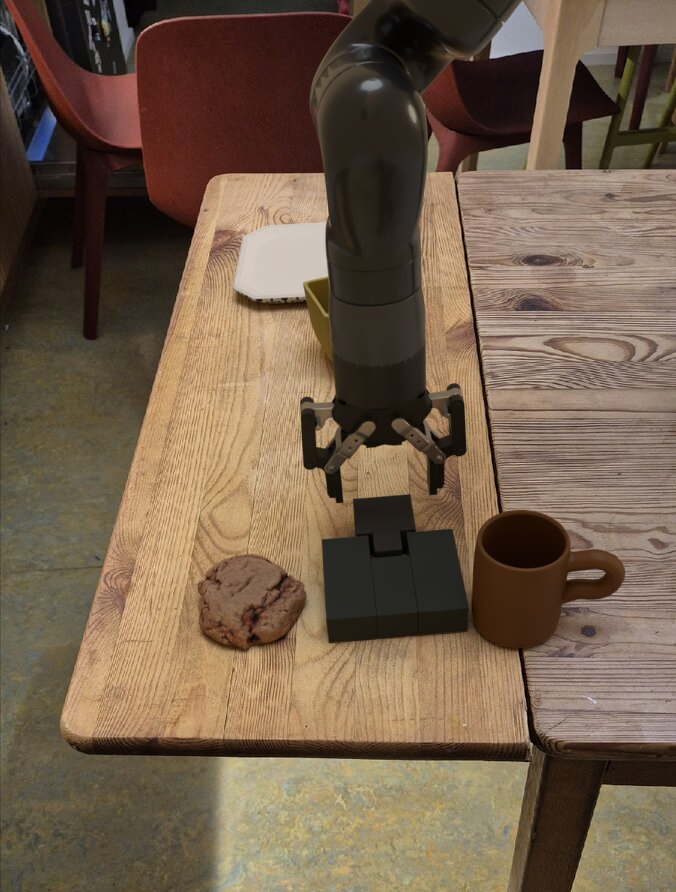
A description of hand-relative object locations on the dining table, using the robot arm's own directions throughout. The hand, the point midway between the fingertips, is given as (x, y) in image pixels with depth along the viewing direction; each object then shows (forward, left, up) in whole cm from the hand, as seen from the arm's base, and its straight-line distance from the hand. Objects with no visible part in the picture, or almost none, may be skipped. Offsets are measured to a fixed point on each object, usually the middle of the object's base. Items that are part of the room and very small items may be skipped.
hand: (385, 493), depth 85 cm
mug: (-12, +13, -5) cm, 18 cm away
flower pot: (+1, -31, -5) cm, 32 cm away
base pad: (0, +8, -5) cm, 10 cm away
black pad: (0, +1, -5) cm, 5 cm away
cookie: (+13, +8, -5) cm, 16 cm away
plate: (+5, -54, -5) cm, 55 cm away
